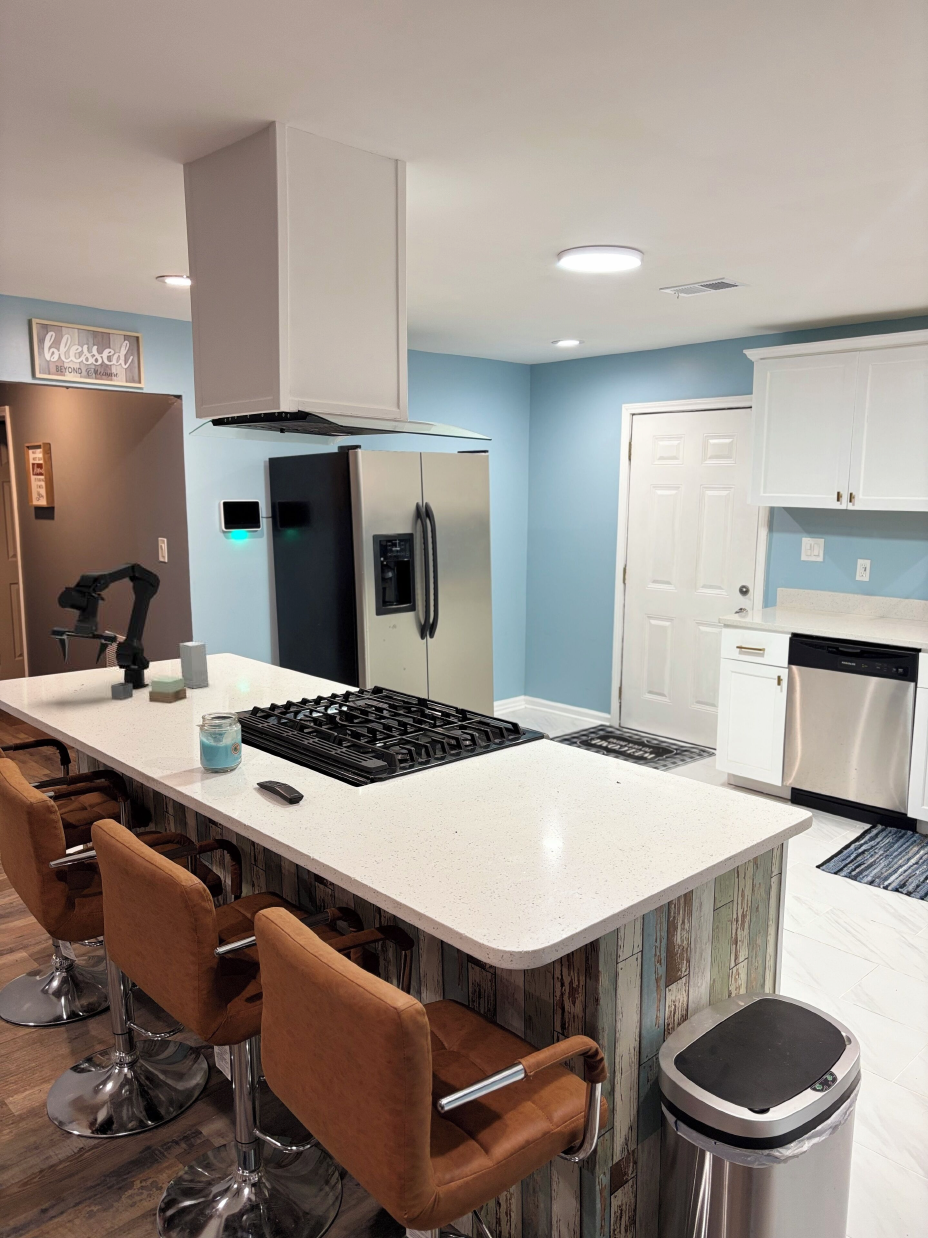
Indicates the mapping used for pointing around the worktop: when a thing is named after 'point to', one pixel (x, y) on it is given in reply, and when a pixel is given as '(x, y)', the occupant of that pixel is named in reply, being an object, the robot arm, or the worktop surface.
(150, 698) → the base block
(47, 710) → the worktop surface
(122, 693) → the cube
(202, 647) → the skincare box
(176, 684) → the top block
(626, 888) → the worktop surface
